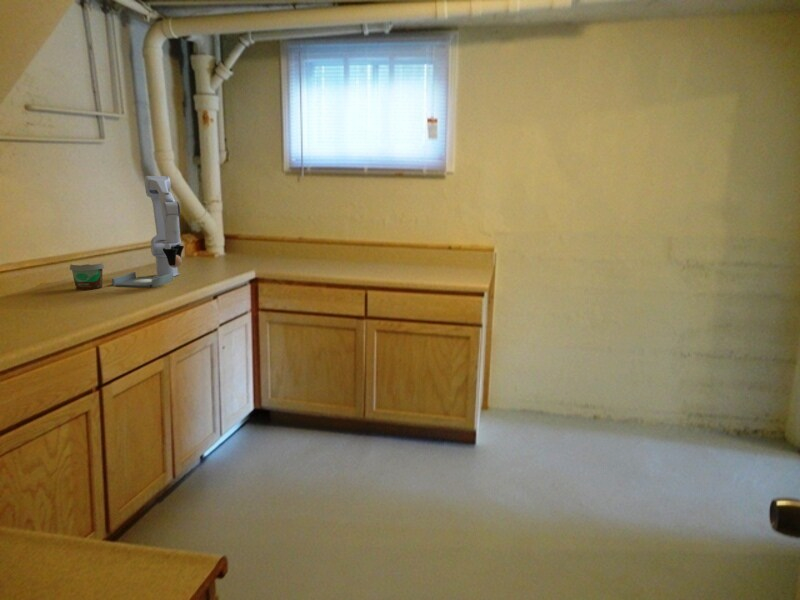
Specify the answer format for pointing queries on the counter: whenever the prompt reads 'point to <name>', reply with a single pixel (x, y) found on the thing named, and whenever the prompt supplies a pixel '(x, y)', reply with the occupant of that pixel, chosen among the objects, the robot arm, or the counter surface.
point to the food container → (87, 276)
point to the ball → (177, 262)
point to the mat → (138, 282)
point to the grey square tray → (132, 275)
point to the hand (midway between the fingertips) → (174, 264)
